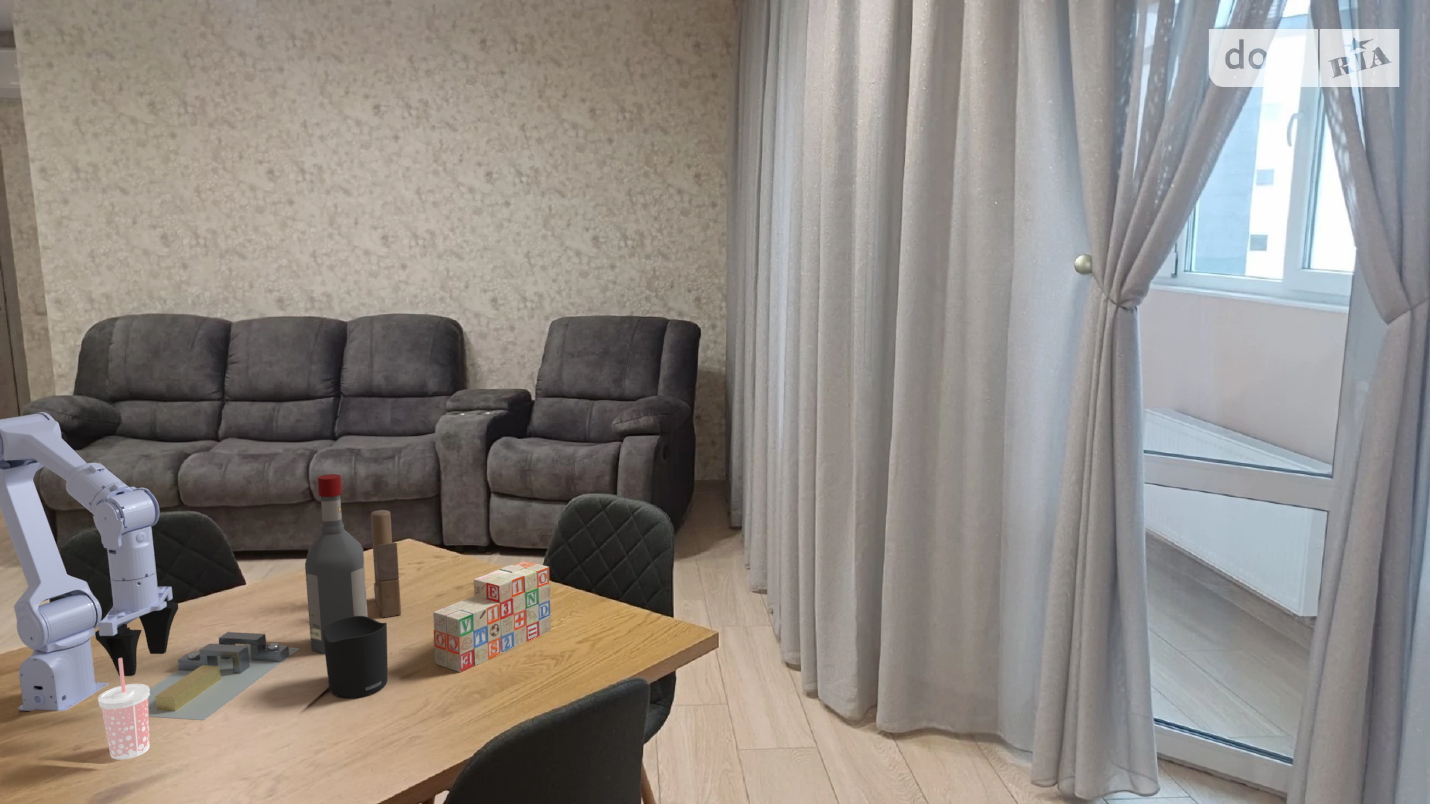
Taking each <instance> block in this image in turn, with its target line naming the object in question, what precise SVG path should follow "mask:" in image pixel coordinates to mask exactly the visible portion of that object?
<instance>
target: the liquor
mask: <svg viewBox="0 0 1430 804" xmlns="http://www.w3.org/2000/svg"><path fill="white" fill-rule="evenodd" d="M317 488H318V491H317V492H318V496H319V497H320V501H321V502H320V503H321V518H322V527H321V531H320V534H319V535H318V536H317V538H316V539H315V540H314V541H313V542H312V544H311V545H310V546H309V548H308V551H307V555H306V559H305V564H304V567H305V568H304V569H305V581H306V594H307V595H306V597H307V608H308V610H307V611H308V621H309V622H308V623H309V624H308V625H309V637H310V649H311V651H312V652H316V653H319V654H324V655H325V648H324V639H323V629H324V627H325V626H326V625H328V624H329V623H331V622H333V621H336V620H339V619H342V618H347V617H352V616H366V617H369V616H368V603H367V602H368V601H367V585H366V573H365V572H366V571H365V557H364V555H365V554H364V553H365V552H364V548H363V546H362V544H361V542H359V541H358V539H356V538H355V537H354V536H353V535H351V534H350V533H349V532H348V531H347V530H345V524H344V522H343V516H342V503H341V495H342V494H343V487H342V476H341V475H340V474H333V473H332V474H323V475H319V476H318V477H317Z"/></svg>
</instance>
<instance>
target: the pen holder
mask: <svg viewBox="0 0 1430 804" xmlns="http://www.w3.org/2000/svg"><path fill="white" fill-rule="evenodd" d="M323 639H324V648H325V654H324V656H325V665H326V672H327V673H326V674H327V679H328V688H329V691H330V692H331V694H333V695H334V696H335V697H338V698H343V699H353V698H354V699H355V698H356V699H357V698H358V699H359V698H364V697H368V696H371V695H374V694H376V693H378V692H379V691H381V690H383V689H384V688H385V687H386V685H387V684H388V675H389V674H388V626H387V622H379V621H378V620H375V619H374V618H372V617H369V616H368V617H366V616H352V617H347V618H342V619H339V620H336V621H333V622H331V623H329V624H328V625H326V626H325V627H324V629H323ZM382 688H383V689H382Z"/></svg>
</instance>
